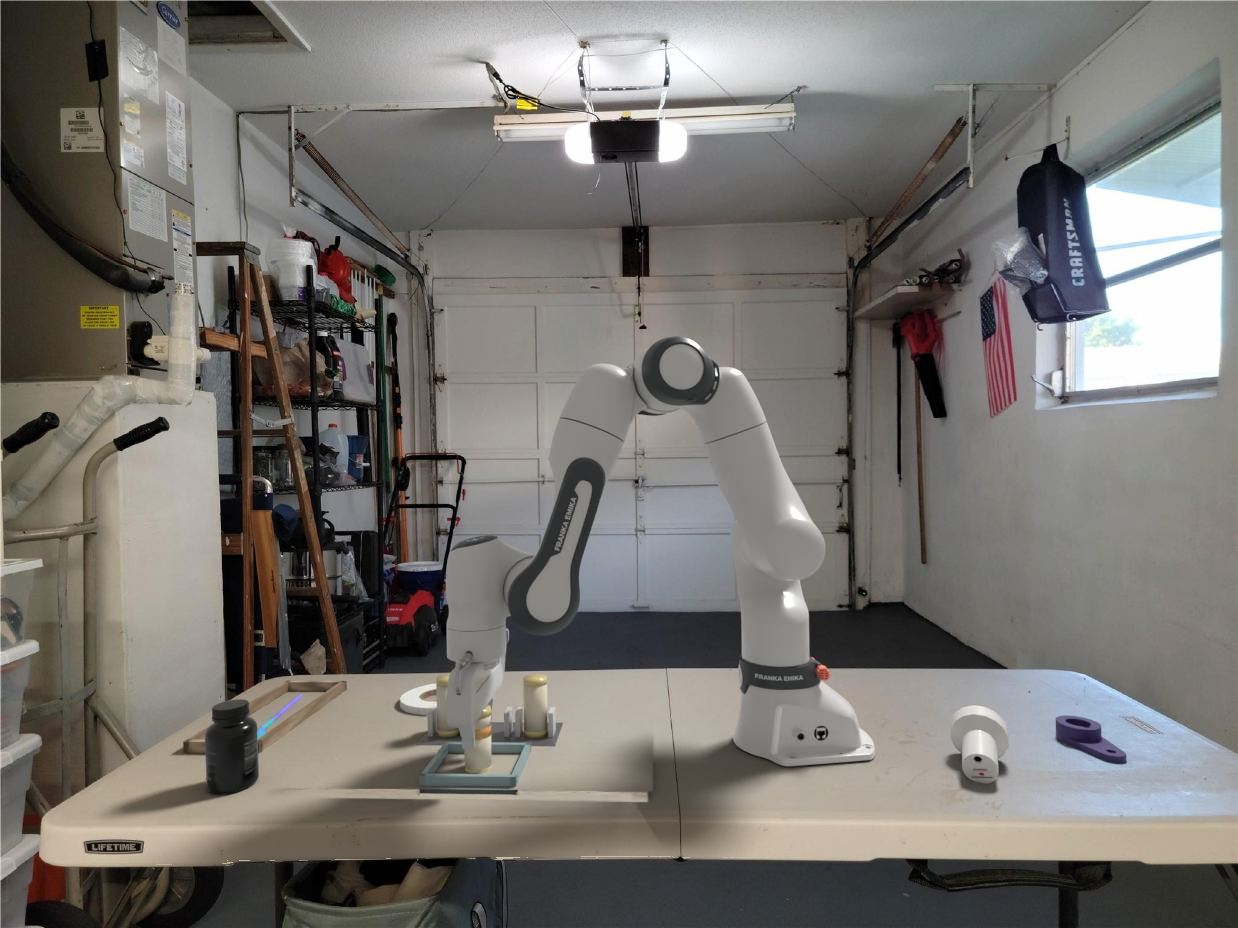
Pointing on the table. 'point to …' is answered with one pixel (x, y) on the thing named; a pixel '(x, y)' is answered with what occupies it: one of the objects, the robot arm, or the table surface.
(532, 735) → the fuse
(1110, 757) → the lever
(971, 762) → the spotlight
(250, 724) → the supplement bottle
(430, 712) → the clip block
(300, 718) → the wooden frame
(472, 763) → the cylinder
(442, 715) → the fuse
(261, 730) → the spoon
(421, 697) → the roll of tape
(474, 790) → the tray
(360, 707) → the table surface
